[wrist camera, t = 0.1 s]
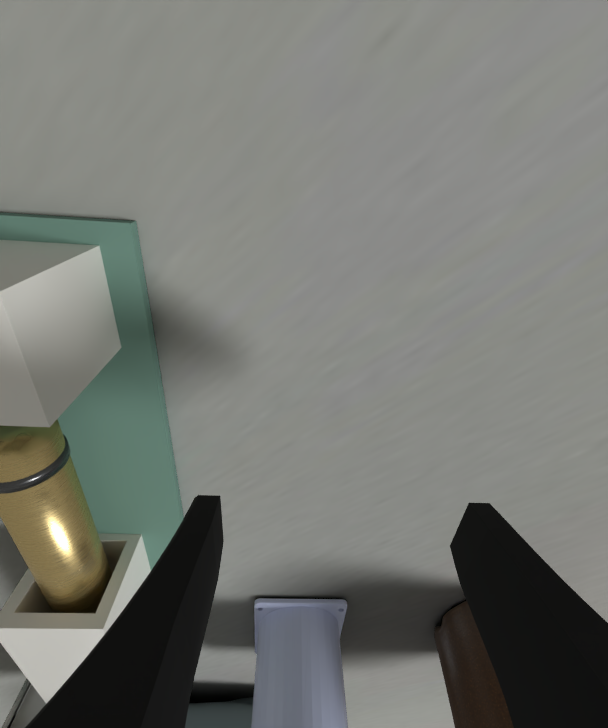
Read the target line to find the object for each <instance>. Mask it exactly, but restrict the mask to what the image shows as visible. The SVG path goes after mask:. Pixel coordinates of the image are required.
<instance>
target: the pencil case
mask: <svg viewBox="0 0 608 728" xmlns="http://www.w3.org/2000/svg"><path fill="white" fill-rule="evenodd" d="M252 710H253V697H252V698H241V699H236V700H232V701H228V702H211V703H190V704H189V706H188V712H187V718H186V724H185V728H251V723H252Z"/></svg>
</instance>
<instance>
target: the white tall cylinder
mask: <svg viewBox="0 0 608 728" xmlns="http://www.w3.org/2000/svg"><path fill="white" fill-rule="evenodd" d="M45 705H46V703H45V701H44V700H43V699H42V697H41V696H40V695H39V693H38V692H37V691H36V689H35V688H34V687H33V685H32V684H31V683H30V681H29V680H28V679H26V681H25V683H24V685H23V687H22V689H21V691H20V693H19V695H18V697H17V699H16V701H15V703H14V704H13V706H12V708H11V710H10V712H9V714H8V716H7V718H6V720H5V722H4V724H3V726H2V728H25V727H26V726H27V725H28V724H29V723H30V722H31V720H32V719H33V718H34V717H35V716H36V715H37V714H38V713H39V712H40V710H41V709H42V708H43V707H44V706H45Z"/></svg>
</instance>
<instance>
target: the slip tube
mask: <svg viewBox="0 0 608 728" xmlns="http://www.w3.org/2000/svg"><path fill="white" fill-rule="evenodd" d="M70 452H71V450H70V446H69V443H68V441H67V438H66V436H65V435H64V434H63V433H62V431H61V428H60V425H59V422H58V420H56V421H55V422H54V423H53V424H52V425H51V426H50V427H28V426H0V517H1V519H2V521H3V523H4V524H5V526H6V528H7V530H8V532H9V534H10V535H11V537H12V539H13V541H14V543H15V544H16V546H17V548H18V550H19V552H20V553H21V555H22V557H23V559H24V561H25V563H26V564H27V566H28V568H29V570H30V572H31V573H32V575H33V577H34V579H35V581H36V582H37V584H38V586H39V588H40V590H41V592H42V593H43V595H44V597H45V599H46V601H47V602H48V604H49V606H50V608H51V610H52V612H53V613H96V611H97V609H98V606H99V604H100V602H101V599H102V597H103V595H104V593H105V590H106V588H107V586H108V583H109V581H110V579H111V577H112V571H111V569H110V566H109V563H108V560H107V557H106V554H105V552H104V549H103V546H102V543H101V540H100V538H99V535H98V532H97V529H96V526H95V523H94V521H93V518H92V515H91V512H90V509H89V507H88V504H87V501H86V498H85V495H84V493H83V490H82V487H81V484H80V481H79V478H78V476H77V473H76V470H75V467H74V464H73V462H72V459H71V456H70Z"/></svg>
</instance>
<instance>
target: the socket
mask: <svg viewBox="0 0 608 728" xmlns="http://www.w3.org/2000/svg"><path fill="white" fill-rule="evenodd" d="M120 349H121V344H120V339H119V334H118V330H117V325H116V321H115V316H114V311H113V307H112V302H111V297H110V293H109V288H108V283H107V279H106V274H105V269H104V265H103V260H102V255H101V251H100V246H99V245H82V244H65V243H48V242H31V241H15V240H0V426H28V427H50V426H51V425H52V424H53V423H54V422H55V421H56V420H57V419H58V418H59V416H60V415H61V414H62V413H63V412H64V411H65V410H66V409H67V408H68V406H69V405H70V404H71V403H72V402H73V401H74V400H75V399H76V398H77V397H78V395H79V394H80V393H81V392H82V391H83V390H84V389H85V388H86V387H87V385H88V384H89V383H90V382H91V381H92V380H93V379H94V378H95V377H96V375H97V374H98V373H99V372H100V371H101V370H102V369H103V368H104V367H105V365H106V364H107V363H108V362H109V361H110V360H111V359H112V358H113V357H114V355H115V354H116V353H117V352H118V351H119V350H120Z"/></svg>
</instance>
